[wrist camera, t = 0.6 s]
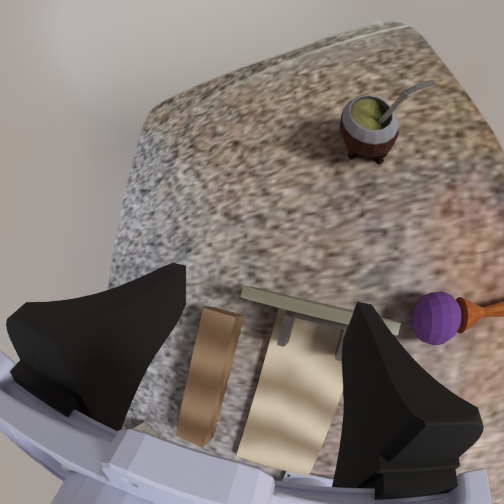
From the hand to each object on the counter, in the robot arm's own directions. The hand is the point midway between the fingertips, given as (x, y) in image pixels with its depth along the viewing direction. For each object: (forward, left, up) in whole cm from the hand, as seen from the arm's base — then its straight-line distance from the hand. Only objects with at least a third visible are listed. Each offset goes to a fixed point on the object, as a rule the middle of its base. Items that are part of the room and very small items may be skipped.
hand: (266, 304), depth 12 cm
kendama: (+3, -22, -24) cm, 33 cm away
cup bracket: (-11, -2, -24) cm, 26 cm away
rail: (-13, +9, -24) cm, 29 cm away
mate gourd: (+21, -4, -24) cm, 32 cm away
